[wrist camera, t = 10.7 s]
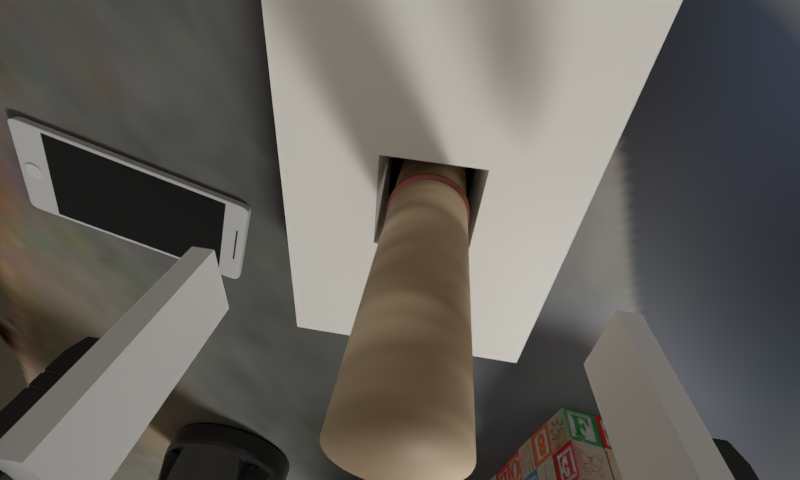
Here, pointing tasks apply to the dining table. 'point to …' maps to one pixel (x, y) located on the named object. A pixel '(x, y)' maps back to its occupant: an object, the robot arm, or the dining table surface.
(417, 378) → the beech peg
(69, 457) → the robot arm
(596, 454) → the stack of blocks
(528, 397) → the dining table surface
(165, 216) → the smartphone
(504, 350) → the hole board
